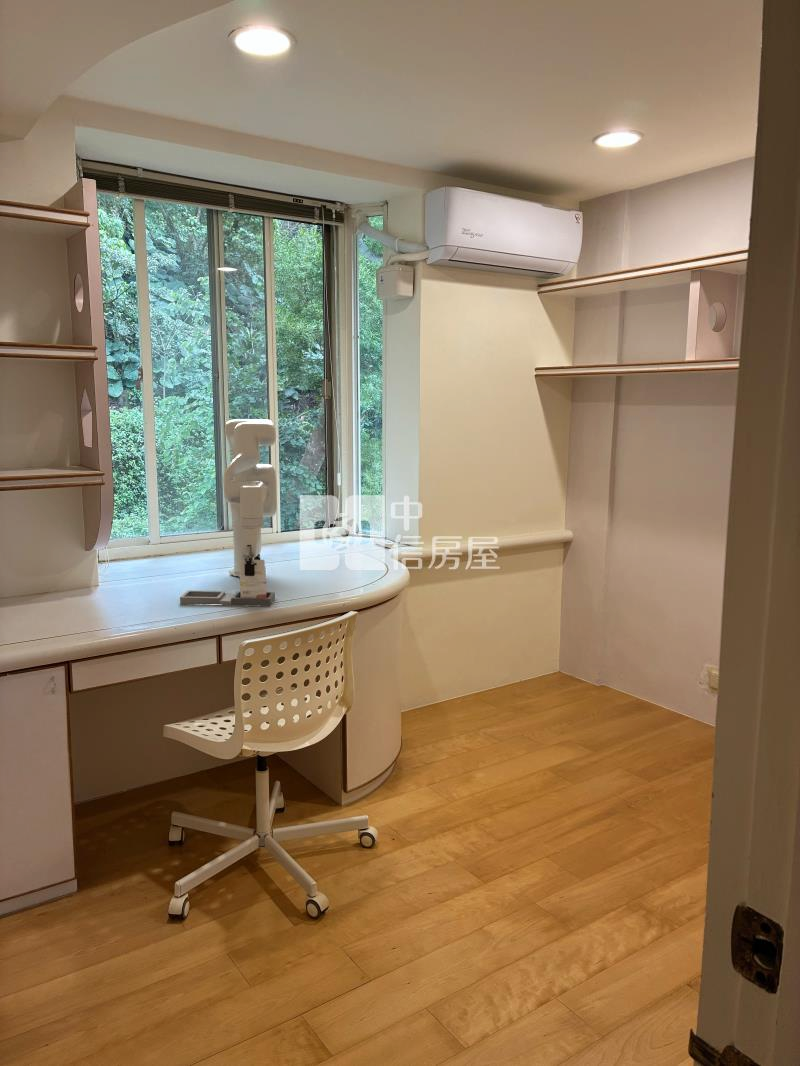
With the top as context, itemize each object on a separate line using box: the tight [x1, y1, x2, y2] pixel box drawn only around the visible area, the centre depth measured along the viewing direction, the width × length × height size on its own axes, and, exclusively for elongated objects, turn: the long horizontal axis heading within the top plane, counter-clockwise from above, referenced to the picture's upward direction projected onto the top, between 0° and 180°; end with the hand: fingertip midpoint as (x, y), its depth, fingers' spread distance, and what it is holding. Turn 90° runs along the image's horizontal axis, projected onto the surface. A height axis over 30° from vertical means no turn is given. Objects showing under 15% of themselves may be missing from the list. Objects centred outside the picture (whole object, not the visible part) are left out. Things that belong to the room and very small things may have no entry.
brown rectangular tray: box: [179, 590, 226, 605], centre depth 267 cm, size 9×13×2 cm
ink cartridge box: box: [239, 559, 267, 598], centre depth 266 cm, size 9×5×15 cm, turn 98°
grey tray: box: [219, 591, 276, 607], centre depth 267 cm, size 9×17×2 cm, turn 89°
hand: (252, 572), depth 266 cm, fingers open, 9 cm apart
